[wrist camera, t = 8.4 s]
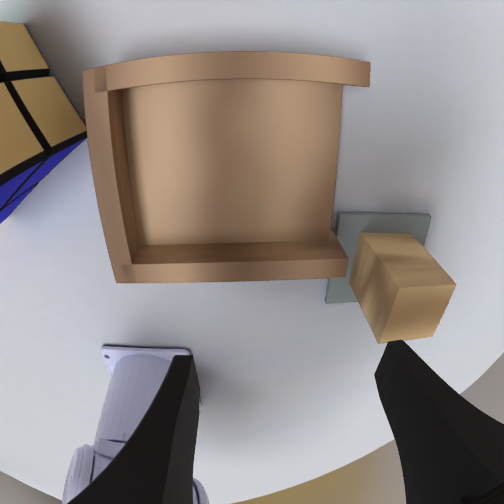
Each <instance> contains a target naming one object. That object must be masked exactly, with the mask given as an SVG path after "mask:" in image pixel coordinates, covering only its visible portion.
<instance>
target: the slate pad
mask: <svg viewBox="0 0 504 504" xmlns="http://www.w3.org/2000/svg"><path fill="white" fill-rule="evenodd" d="M430 219H431V216H430V215H429V214H404V213H339V212H338V219H337V227H336V234H335V236H336V237H337V239H338V241H339V242H340V244H341V246H342V247H343V249H344V251H345V253H346V254H347V256H348V258H349V261H348V267H347V272H346V277H339V278H329V280H328V286H327V292H326V298H325V302H326V304H329V303H343V302H356V301H358V300H357V298H356V296H355V294H354V292H353V290H352V288H351V286H350V284H349V281H350V277H351V272H352V268H353V264H354V259H355V255H356V251H357V246H358V241H359V237H360V232H361V233H399V234H411V235H412V236H413V237H414V238H415V239H416V240H417V241H418V242H419V243H420V244H421V245H422V246H424V242H425V239H426V235H427V231H428V227H429V223H430Z"/></svg>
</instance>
